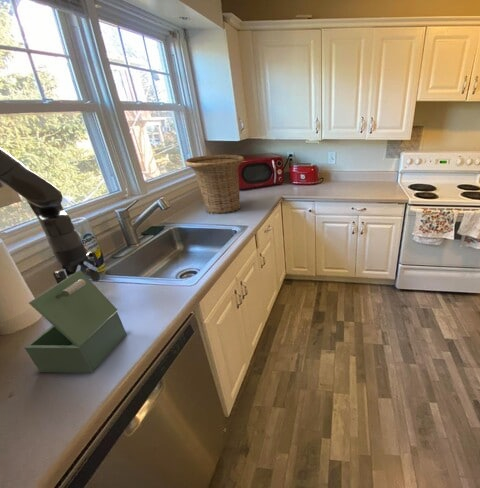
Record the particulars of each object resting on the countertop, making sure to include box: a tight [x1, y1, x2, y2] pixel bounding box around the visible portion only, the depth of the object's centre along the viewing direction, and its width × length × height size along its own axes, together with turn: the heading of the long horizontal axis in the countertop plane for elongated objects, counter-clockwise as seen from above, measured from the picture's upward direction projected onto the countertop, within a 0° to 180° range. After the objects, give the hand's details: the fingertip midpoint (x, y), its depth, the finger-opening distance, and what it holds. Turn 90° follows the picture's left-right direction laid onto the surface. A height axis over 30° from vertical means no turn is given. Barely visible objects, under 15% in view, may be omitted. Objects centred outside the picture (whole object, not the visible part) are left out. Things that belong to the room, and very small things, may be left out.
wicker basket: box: [184, 154, 245, 215], centre depth 182 cm, size 35×35×33 cm
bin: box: [23, 311, 127, 373], centre depth 76 cm, size 14×14×9 cm
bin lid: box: [28, 270, 118, 347], centre depth 70 cm, size 14×14×5 cm
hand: (87, 287), depth 96 cm, fingers open, 8 cm apart
